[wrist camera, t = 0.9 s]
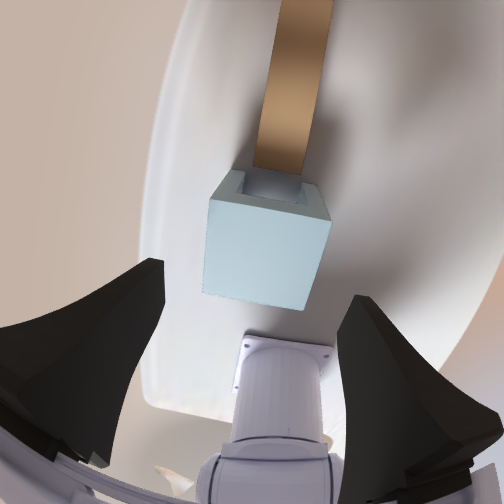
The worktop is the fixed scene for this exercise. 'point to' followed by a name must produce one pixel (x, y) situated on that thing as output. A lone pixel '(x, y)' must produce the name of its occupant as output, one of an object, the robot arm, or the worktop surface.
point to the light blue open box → (263, 245)
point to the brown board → (292, 84)
